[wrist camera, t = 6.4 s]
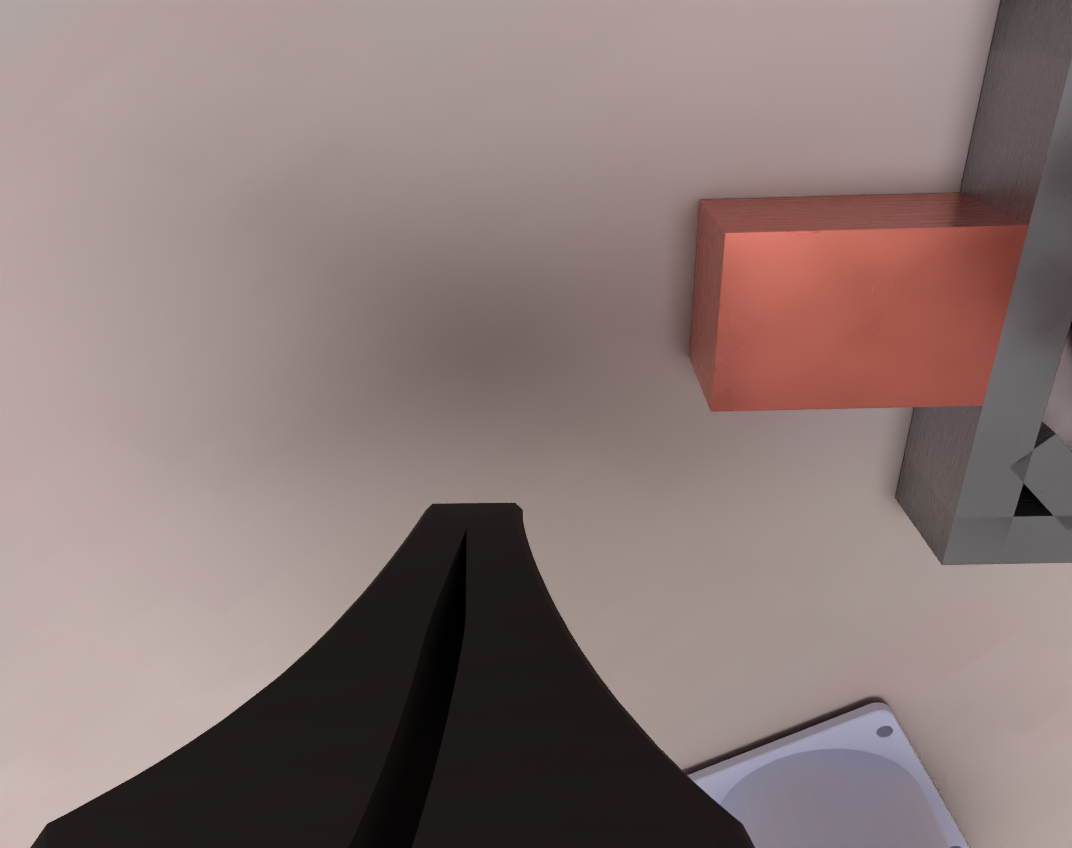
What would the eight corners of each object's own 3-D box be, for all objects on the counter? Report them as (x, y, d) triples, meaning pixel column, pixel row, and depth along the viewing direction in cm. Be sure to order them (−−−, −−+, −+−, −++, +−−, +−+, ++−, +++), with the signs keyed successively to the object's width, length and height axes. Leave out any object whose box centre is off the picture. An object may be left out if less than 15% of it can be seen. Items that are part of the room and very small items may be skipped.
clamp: (680, 502, 23) (698, 569, 20) (713, -15, 17) (745, -18, 14) (1237, 491, 22) (1330, 558, 20) (1473, -40, 16) (1651, -47, 14)
